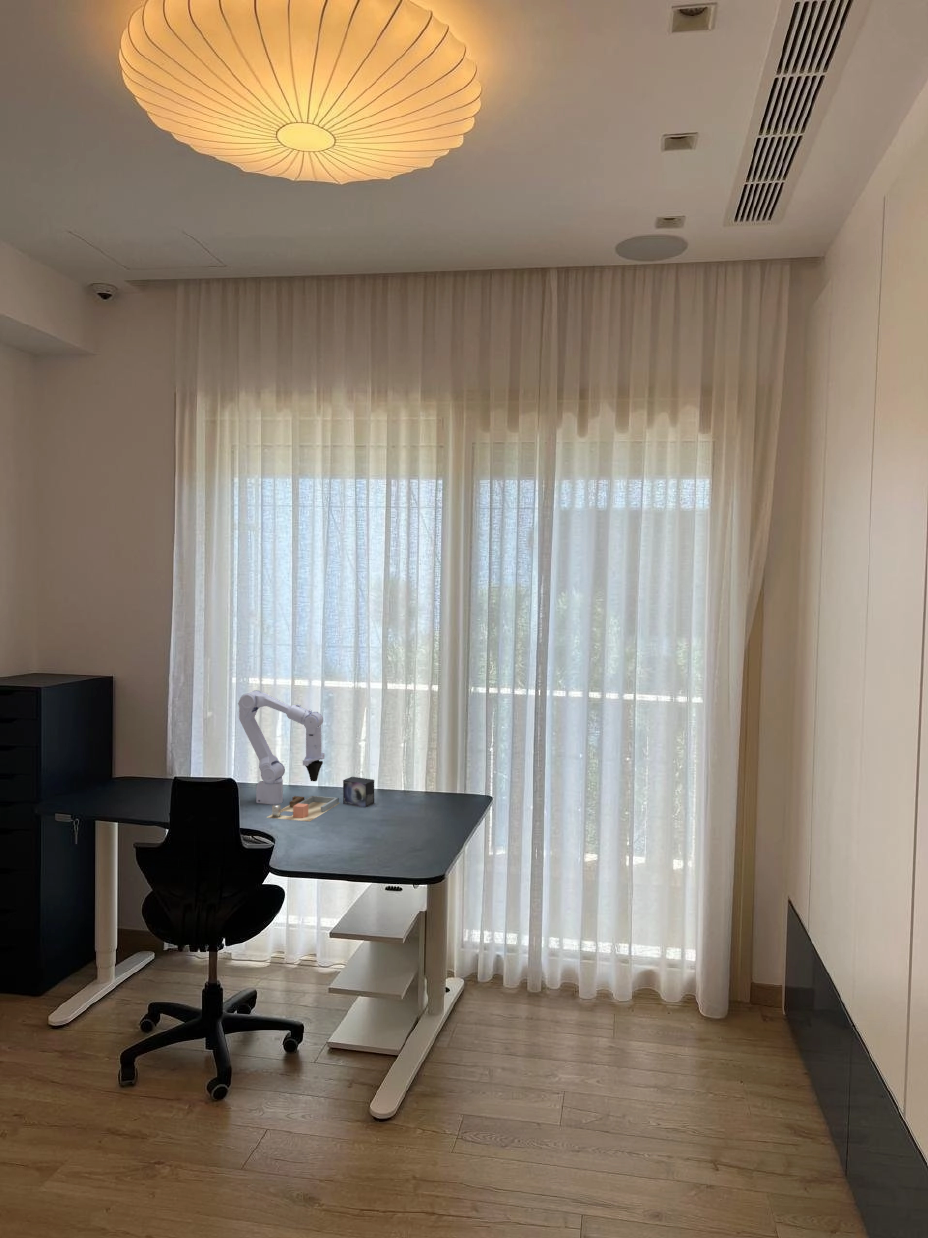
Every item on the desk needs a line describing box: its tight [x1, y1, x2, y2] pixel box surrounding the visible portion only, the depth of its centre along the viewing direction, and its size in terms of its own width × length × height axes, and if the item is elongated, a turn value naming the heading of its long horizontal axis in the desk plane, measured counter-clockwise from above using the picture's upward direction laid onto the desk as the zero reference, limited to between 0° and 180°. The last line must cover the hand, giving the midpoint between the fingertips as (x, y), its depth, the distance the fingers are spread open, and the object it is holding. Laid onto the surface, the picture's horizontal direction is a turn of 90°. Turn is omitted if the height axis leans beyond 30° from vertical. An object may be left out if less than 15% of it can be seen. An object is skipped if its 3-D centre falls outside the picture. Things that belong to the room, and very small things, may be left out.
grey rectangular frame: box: [300, 795, 340, 813], centre depth 335 cm, size 11×14×2 cm
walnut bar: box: [289, 795, 305, 807], centre depth 338 cm, size 4×8×2 cm, turn 164°
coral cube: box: [292, 803, 308, 818], centre depth 322 cm, size 4×4×4 cm
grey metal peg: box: [271, 804, 282, 819], centre depth 321 cm, size 3×3×4 cm
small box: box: [342, 776, 375, 808], centre depth 339 cm, size 11×6×10 cm, turn 62°
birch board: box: [266, 802, 341, 822], centre depth 330 cm, size 17×26×1 cm, turn 164°
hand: (313, 780), depth 338 cm, fingers closed
